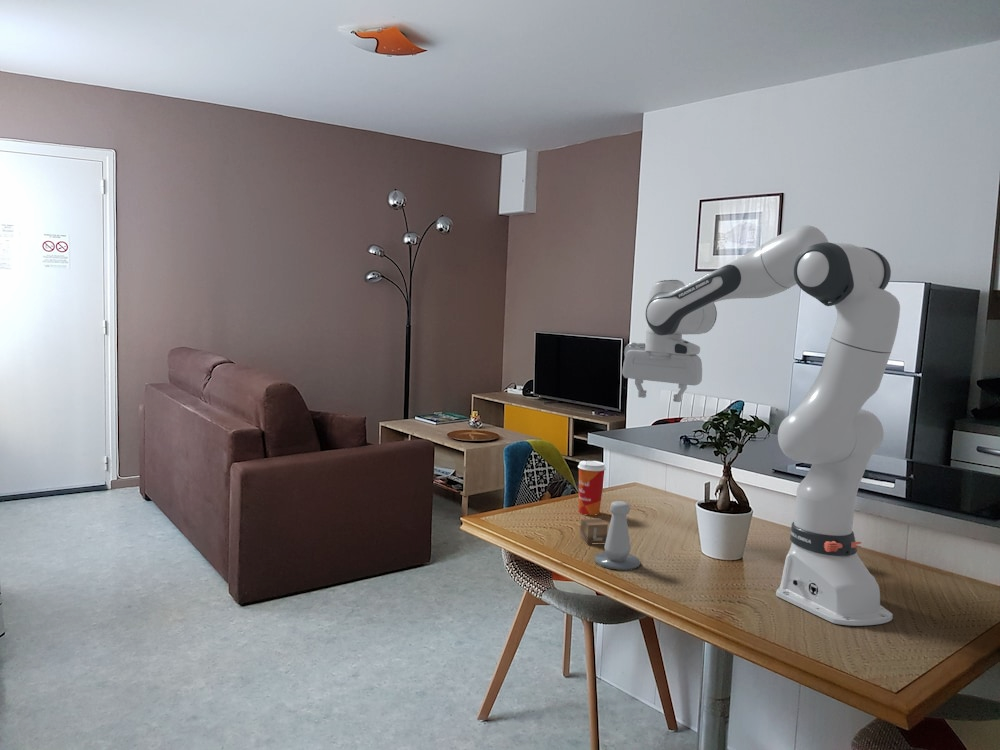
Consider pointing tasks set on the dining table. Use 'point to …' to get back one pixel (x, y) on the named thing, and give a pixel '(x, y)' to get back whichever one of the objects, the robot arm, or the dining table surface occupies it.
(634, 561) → the coaster
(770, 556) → the dining table surface
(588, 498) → the paper cup
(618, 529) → the salt shaker
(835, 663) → the dining table surface
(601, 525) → the cube
